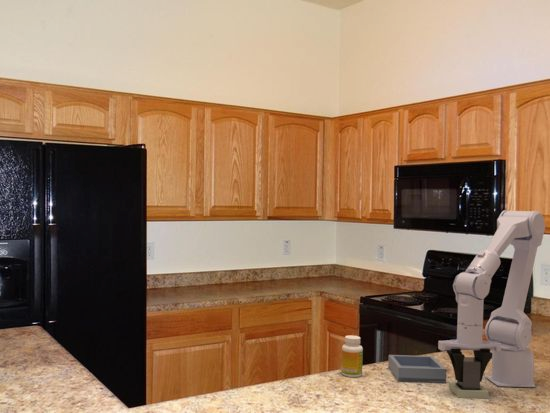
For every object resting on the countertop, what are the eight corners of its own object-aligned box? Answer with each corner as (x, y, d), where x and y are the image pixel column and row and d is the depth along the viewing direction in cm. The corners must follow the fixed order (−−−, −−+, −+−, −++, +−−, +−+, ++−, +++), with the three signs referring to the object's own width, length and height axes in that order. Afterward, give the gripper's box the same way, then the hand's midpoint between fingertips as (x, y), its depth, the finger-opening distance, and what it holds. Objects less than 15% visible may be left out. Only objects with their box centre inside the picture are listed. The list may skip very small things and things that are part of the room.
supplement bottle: (361, 378, 140) (362, 340, 140) (340, 376, 141) (341, 338, 141) (362, 372, 145) (363, 335, 145) (342, 370, 146) (343, 333, 146)
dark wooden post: (473, 390, 133) (474, 357, 133) (479, 396, 129) (480, 361, 129) (456, 389, 133) (457, 356, 133) (462, 395, 129) (463, 361, 129)
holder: (477, 388, 134) (477, 382, 134) (488, 398, 127) (488, 391, 127) (448, 387, 134) (448, 381, 134) (458, 397, 127) (458, 391, 127)
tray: (432, 368, 150) (432, 356, 150) (446, 383, 138) (446, 369, 138) (388, 367, 150) (388, 354, 150) (398, 381, 138) (398, 367, 138)
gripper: (491, 320, 135) (489, 375, 135) (434, 319, 134) (432, 375, 134) (505, 326, 128) (504, 384, 128) (445, 325, 127) (443, 384, 127)
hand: (468, 380), depth 131 cm, fingers closed on dark wooden post, 4 cm apart
